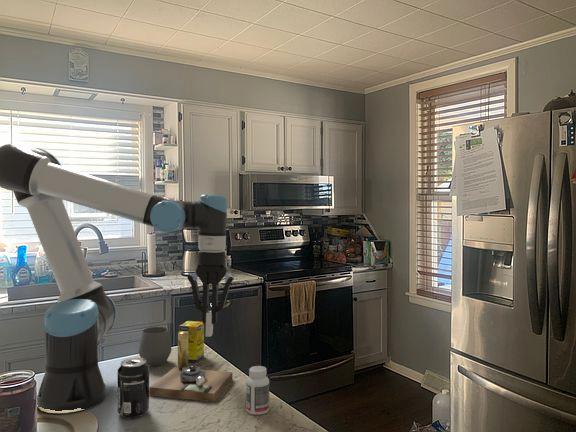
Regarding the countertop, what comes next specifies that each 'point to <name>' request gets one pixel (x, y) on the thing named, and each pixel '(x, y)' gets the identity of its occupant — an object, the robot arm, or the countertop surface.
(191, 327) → the supplement box
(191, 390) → the stand
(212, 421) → the countertop surface
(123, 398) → the beverage can
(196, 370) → the crank handle
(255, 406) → the pill bottle
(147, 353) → the cup
